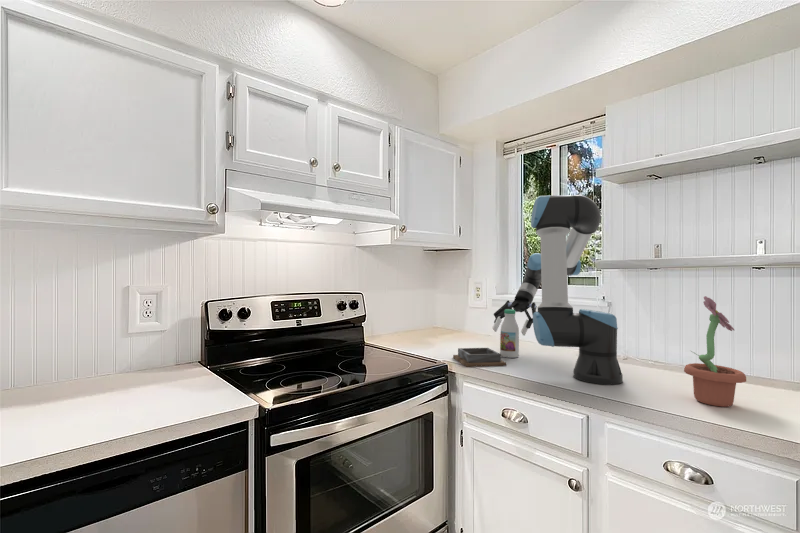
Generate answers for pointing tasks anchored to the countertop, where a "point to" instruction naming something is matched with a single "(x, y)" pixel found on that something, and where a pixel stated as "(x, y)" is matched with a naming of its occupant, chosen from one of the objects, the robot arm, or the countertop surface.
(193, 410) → the countertop surface
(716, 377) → the decorative flower
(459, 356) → the square grey dish
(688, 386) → the countertop surface
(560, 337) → the robot arm
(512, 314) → the milk bottle
